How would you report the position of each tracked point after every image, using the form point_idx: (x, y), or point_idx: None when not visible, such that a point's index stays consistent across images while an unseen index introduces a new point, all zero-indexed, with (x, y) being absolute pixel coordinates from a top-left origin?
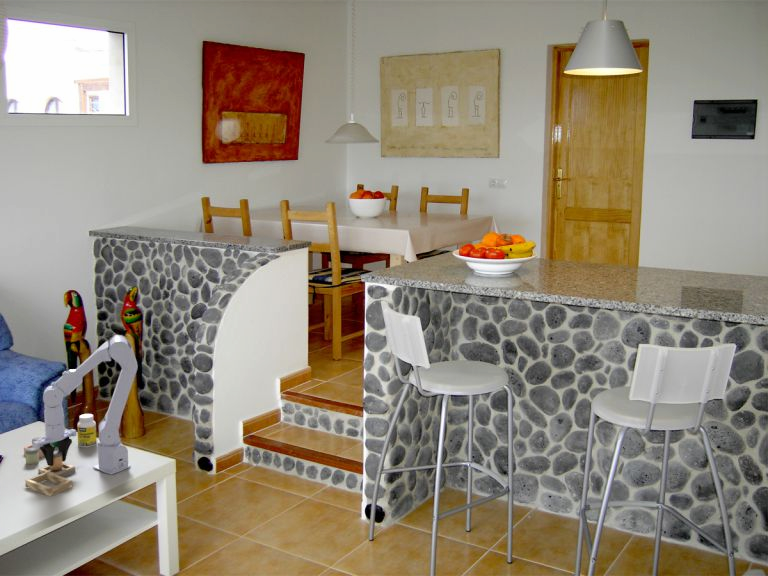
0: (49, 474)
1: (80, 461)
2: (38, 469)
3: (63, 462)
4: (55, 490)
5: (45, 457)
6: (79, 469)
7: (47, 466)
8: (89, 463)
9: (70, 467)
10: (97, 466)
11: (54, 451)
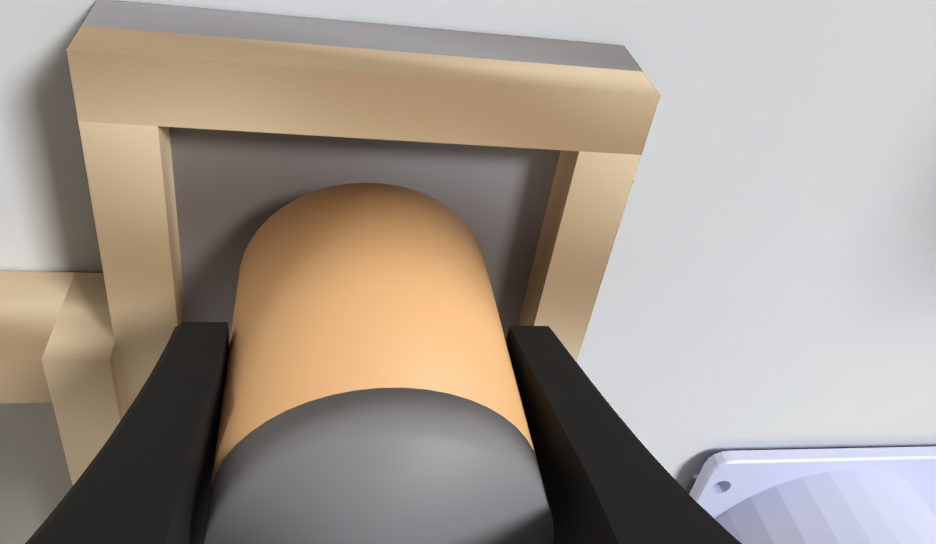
0: (65, 448)
1: (911, 168)
2: (70, 52)
3: (624, 207)
4: None
5: (101, 469)
6: (625, 363)
7: (303, 112)
8: (855, 316)
9: None
10: (740, 492)
11: (462, 477)
